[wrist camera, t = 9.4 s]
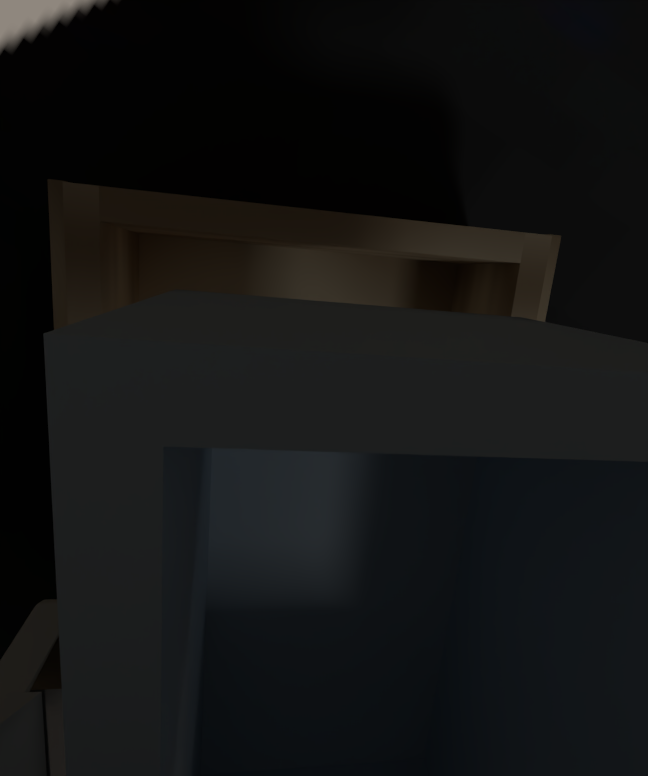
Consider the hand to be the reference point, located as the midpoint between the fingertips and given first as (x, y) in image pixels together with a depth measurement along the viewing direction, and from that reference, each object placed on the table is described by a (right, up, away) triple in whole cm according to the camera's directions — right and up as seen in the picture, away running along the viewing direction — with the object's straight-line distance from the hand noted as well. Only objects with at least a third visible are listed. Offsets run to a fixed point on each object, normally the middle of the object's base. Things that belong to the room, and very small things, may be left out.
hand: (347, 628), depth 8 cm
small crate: (0, 0, +2) cm, 2 cm away
